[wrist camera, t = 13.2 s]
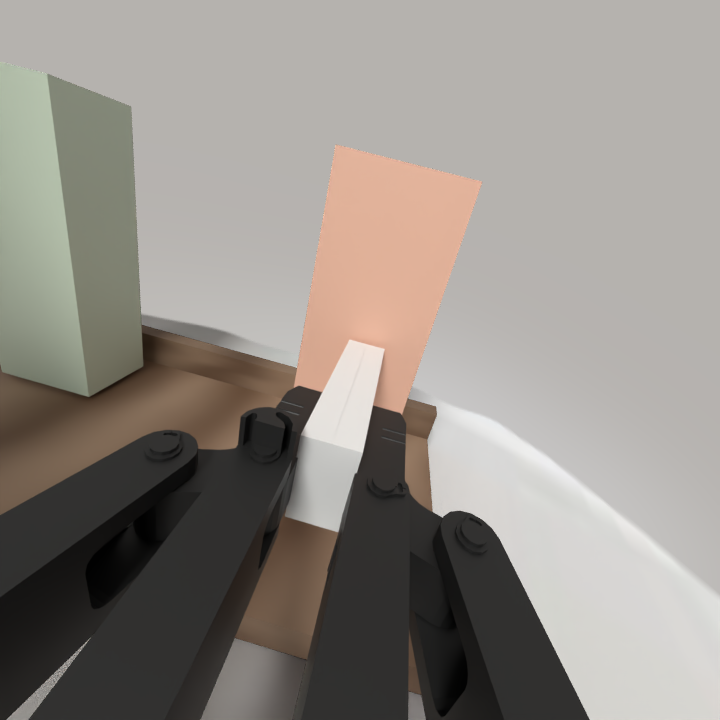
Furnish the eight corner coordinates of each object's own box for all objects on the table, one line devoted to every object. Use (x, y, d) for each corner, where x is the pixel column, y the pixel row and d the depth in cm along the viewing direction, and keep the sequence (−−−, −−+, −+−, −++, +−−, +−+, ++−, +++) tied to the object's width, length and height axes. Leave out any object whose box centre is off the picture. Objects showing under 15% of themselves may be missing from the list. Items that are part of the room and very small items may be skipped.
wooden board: (-287, 478, 12) (-348, 398, 11) (81, 339, 26) (75, 296, 24) (429, 697, 11) (466, 643, 10) (419, 434, 25) (434, 395, 24)
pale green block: (2, 372, 18) (-81, 41, 12) (74, 344, 22) (37, 83, 16) (88, 396, 18) (46, 73, 12) (146, 364, 22) (135, 108, 16)
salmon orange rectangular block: (281, 461, 17) (335, 144, 11) (305, 416, 21) (355, 162, 15) (376, 489, 17) (482, 181, 11) (382, 438, 21) (463, 190, 15)
